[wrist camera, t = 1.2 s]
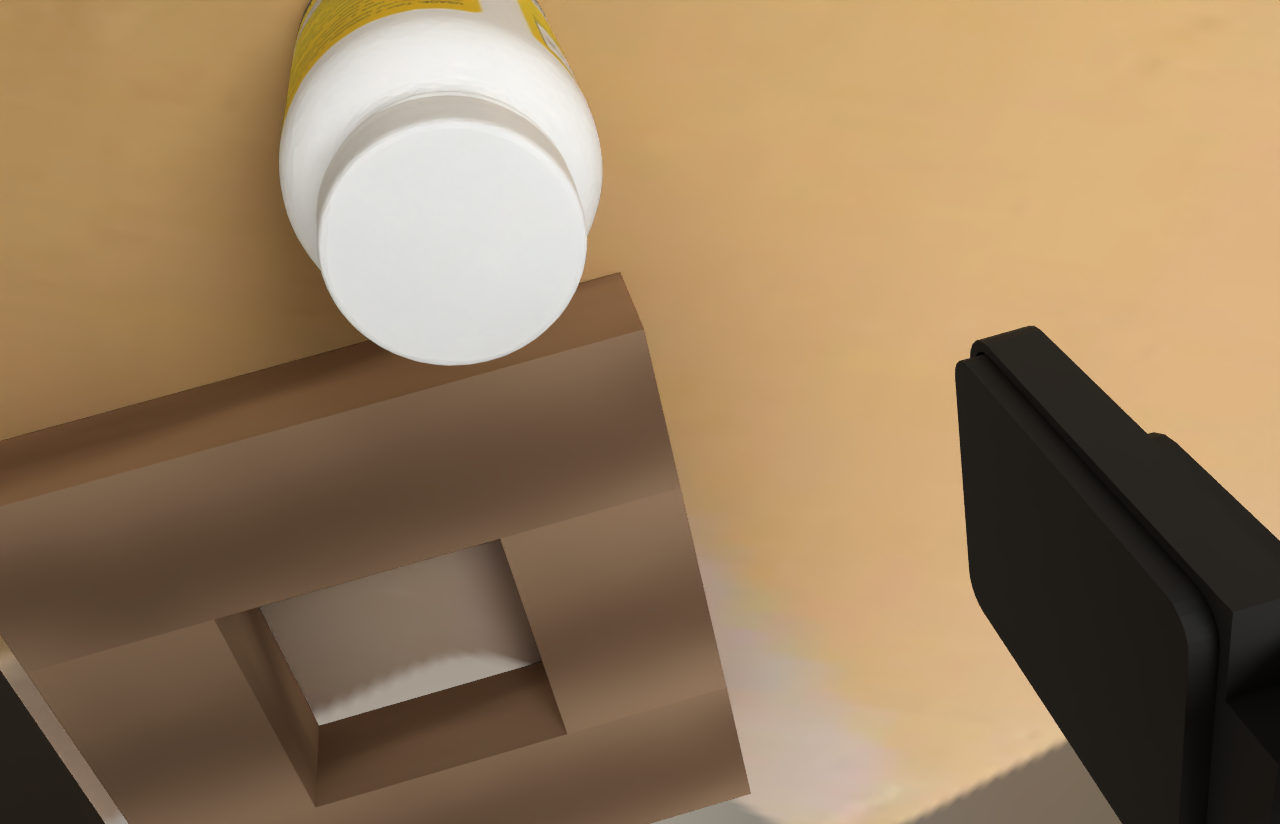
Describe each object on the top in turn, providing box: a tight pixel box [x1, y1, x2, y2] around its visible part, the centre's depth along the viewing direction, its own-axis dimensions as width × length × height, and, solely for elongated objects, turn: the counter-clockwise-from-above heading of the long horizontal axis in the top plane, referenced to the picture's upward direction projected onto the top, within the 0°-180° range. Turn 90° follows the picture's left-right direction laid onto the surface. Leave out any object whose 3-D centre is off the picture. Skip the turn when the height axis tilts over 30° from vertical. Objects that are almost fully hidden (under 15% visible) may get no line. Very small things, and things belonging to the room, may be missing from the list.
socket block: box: [0, 273, 751, 824], centre depth 32 cm, size 16×16×3 cm
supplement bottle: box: [279, 0, 602, 366], centre depth 22 cm, size 5×5×10 cm
